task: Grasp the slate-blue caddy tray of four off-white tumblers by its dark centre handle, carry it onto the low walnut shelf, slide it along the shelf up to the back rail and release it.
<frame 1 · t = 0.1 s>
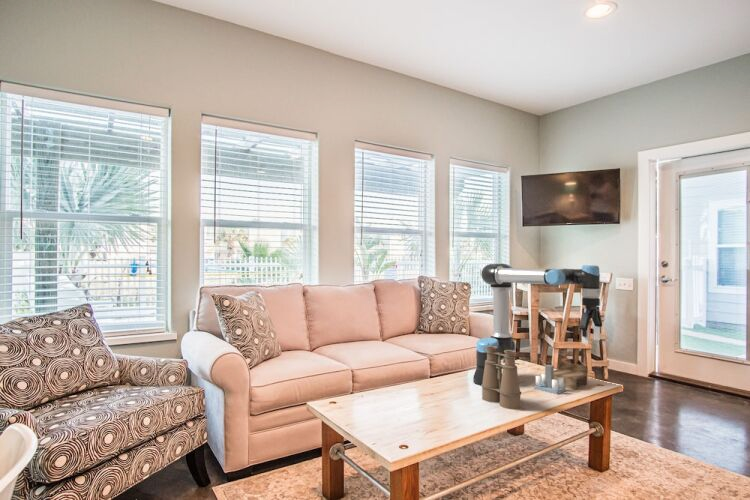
hand: (591, 341, 200), 28 cm above the table, fingers open, 13 cm apart
shelf: (568, 383, 226), on the table
tray: (549, 389, 216), on the table
binoculars: (500, 402, 197), on the table
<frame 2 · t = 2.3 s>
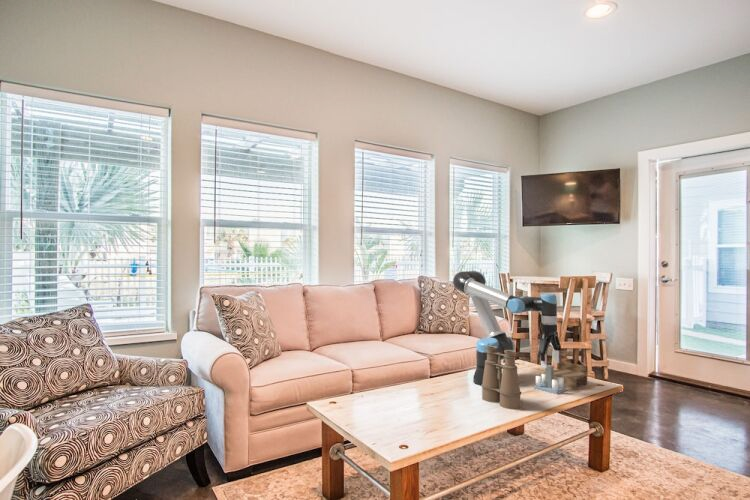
hand: (550, 365, 216), 13 cm above the table, fingers open, 13 cm apart
nothing on the table moved.
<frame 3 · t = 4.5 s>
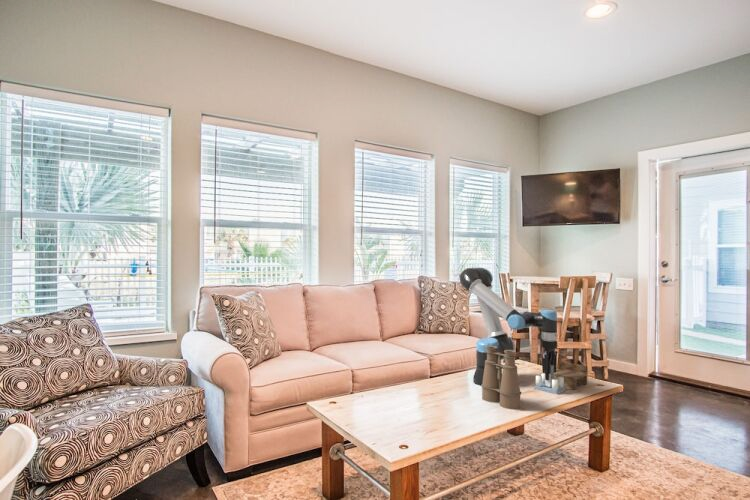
hand: (549, 385, 216), 2 cm above the table, fingers closed on tray, 3 cm apart
tray: (549, 389, 216), on the table, touching gripper
everything else where it was.
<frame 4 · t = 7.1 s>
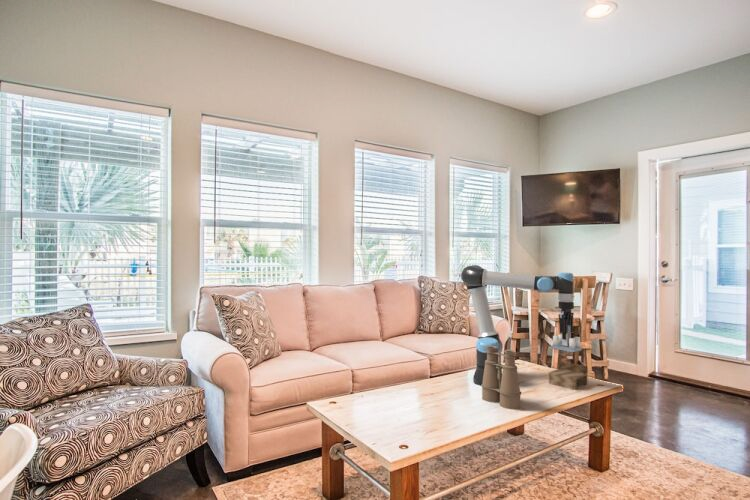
hand: (566, 344, 225), 21 cm above the table, fingers closed on tray, 3 cm apart
tray: (566, 348, 225), point 19 cm above the table, touching gripper
everything else where it was.
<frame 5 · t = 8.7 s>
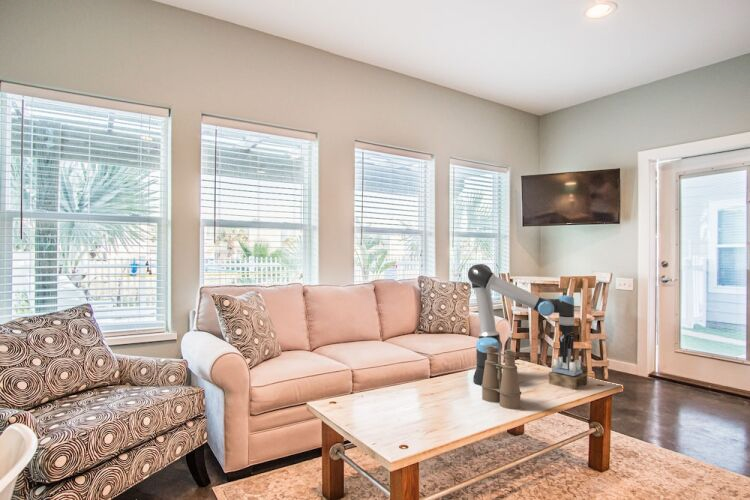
hand: (566, 367, 225), 9 cm above the table, fingers closed on tray, 3 cm apart
tray: (566, 371, 225), point 7 cm above the table, touching gripper
everything else where it was.
when the fingers open (9 cm above the table, at t = 10.0 s): tray stays where it is, resting on shelf.
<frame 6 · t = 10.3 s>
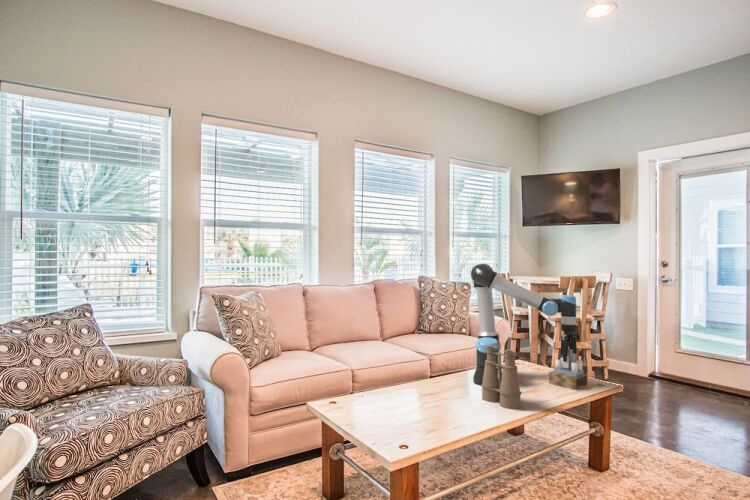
hand: (568, 366, 227), 9 cm above the table, fingers open, 7 cm apart
tray: (568, 372, 227), point 6 cm above the table, touching shelf
everything else where it was.
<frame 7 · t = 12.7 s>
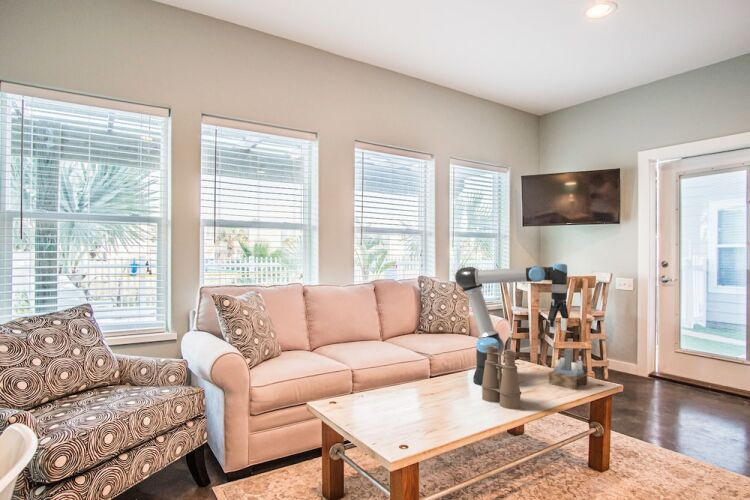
hand: (558, 331, 225), 28 cm above the table, fingers open, 13 cm apart
nothing on the table moved.
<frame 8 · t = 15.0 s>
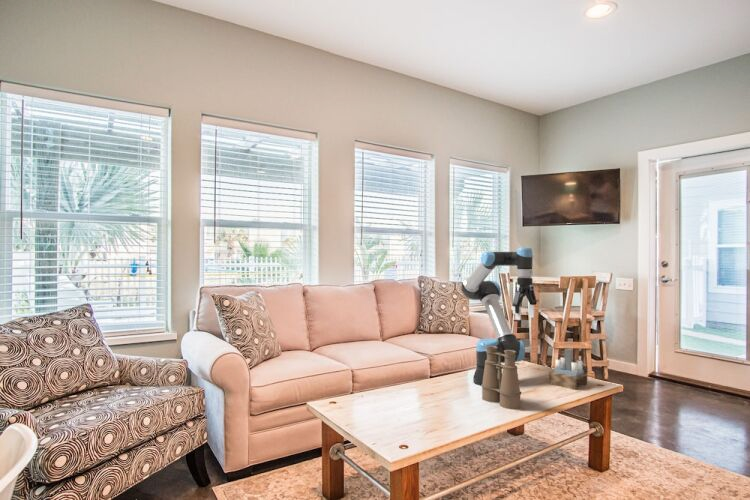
hand: (524, 318, 216), 37 cm above the table, fingers open, 13 cm apart
nothing on the table moved.
at the end: tray inside the target area on the shelf (0.0 cm from its centre), point 6.0 cm above the shelf's base; tray tilted 0°; the gripper is holding nothing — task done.
